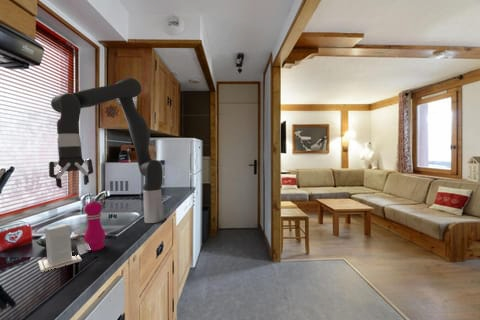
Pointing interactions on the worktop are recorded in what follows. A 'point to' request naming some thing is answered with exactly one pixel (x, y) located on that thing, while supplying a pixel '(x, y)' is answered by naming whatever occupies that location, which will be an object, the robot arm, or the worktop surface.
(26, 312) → the worktop surface
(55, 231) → the skincare box
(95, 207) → the pepper mill
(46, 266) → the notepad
